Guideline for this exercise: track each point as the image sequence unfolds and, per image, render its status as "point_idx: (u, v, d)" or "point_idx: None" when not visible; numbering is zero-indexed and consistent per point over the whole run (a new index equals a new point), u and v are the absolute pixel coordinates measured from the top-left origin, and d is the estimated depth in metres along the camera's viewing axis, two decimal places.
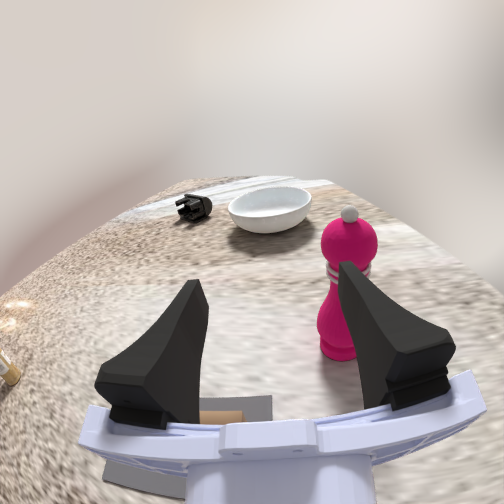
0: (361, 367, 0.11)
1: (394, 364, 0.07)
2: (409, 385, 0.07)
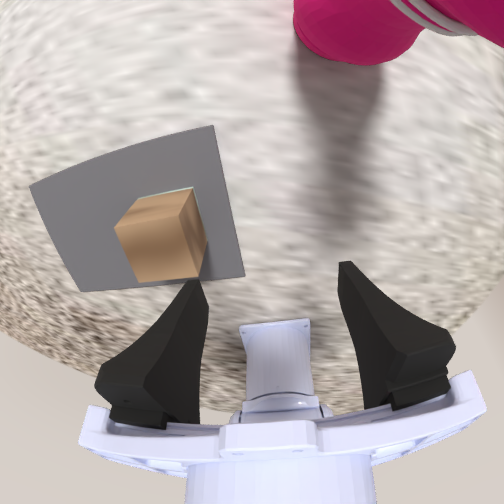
0: (361, 367, 0.11)
1: (394, 364, 0.07)
2: (409, 385, 0.07)
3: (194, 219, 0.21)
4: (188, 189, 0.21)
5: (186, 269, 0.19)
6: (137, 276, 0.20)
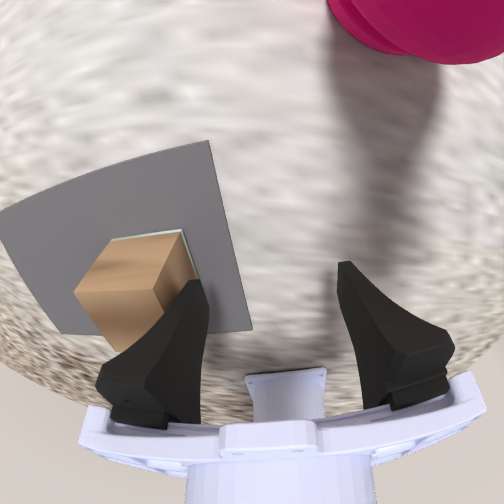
0: (360, 367, 0.11)
1: (392, 364, 0.07)
2: (409, 386, 0.07)
3: (183, 278, 0.15)
4: (175, 233, 0.15)
5: None
6: (112, 345, 0.14)
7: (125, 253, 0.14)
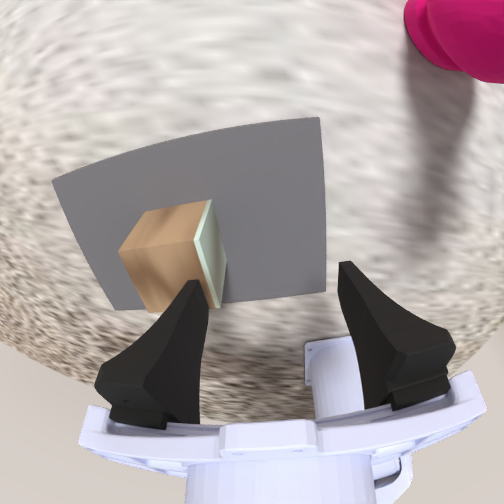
0: (361, 367, 0.11)
1: (394, 364, 0.07)
2: (409, 385, 0.07)
3: (176, 273, 0.15)
4: (191, 237, 0.14)
5: None
6: None
7: (177, 218, 0.17)
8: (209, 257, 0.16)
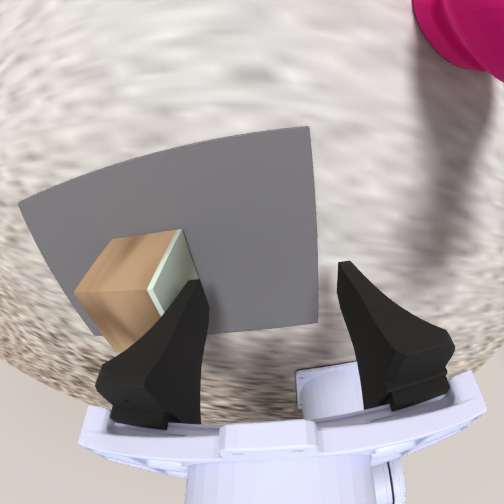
0: (360, 367, 0.11)
1: (392, 364, 0.07)
2: (409, 385, 0.07)
3: (134, 320, 0.13)
4: (146, 285, 0.11)
5: None
6: None
7: (139, 253, 0.14)
8: None
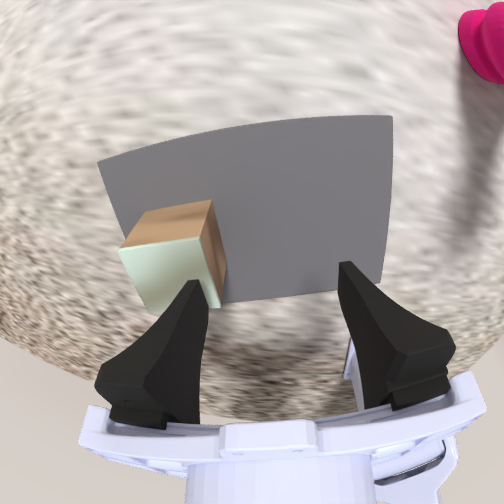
0: (361, 367, 0.11)
1: (394, 364, 0.07)
2: (409, 385, 0.07)
3: None
4: (124, 246, 0.15)
5: None
6: (223, 253, 0.21)
7: (171, 226, 0.16)
8: (141, 274, 0.15)
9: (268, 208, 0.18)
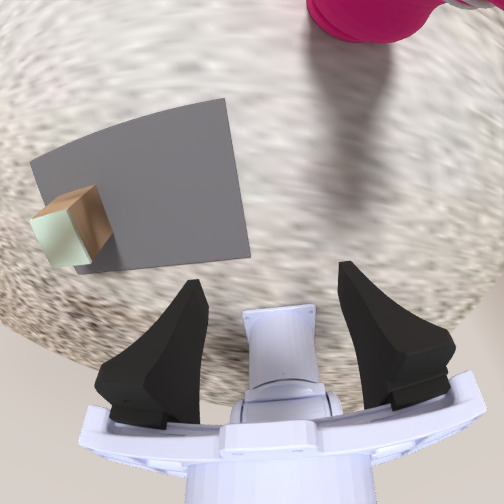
0: (361, 367, 0.11)
1: (394, 364, 0.07)
2: (409, 385, 0.07)
3: None
4: (33, 218, 0.18)
5: None
6: (110, 226, 0.23)
7: (61, 204, 0.19)
8: (43, 237, 0.18)
9: (133, 188, 0.21)
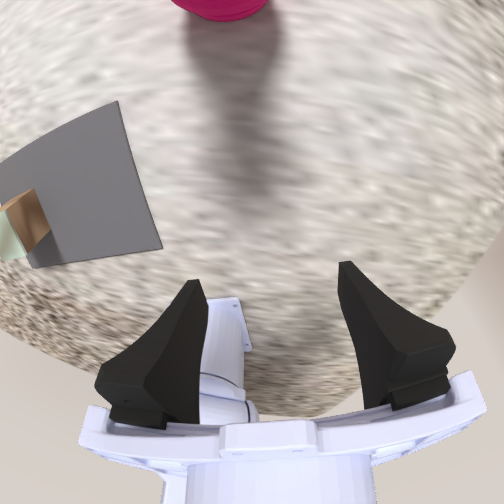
0: (361, 367, 0.11)
1: (394, 364, 0.07)
2: (409, 385, 0.07)
3: None
4: None
5: None
6: (48, 224, 0.23)
7: (6, 206, 0.18)
8: None
9: (59, 189, 0.21)
